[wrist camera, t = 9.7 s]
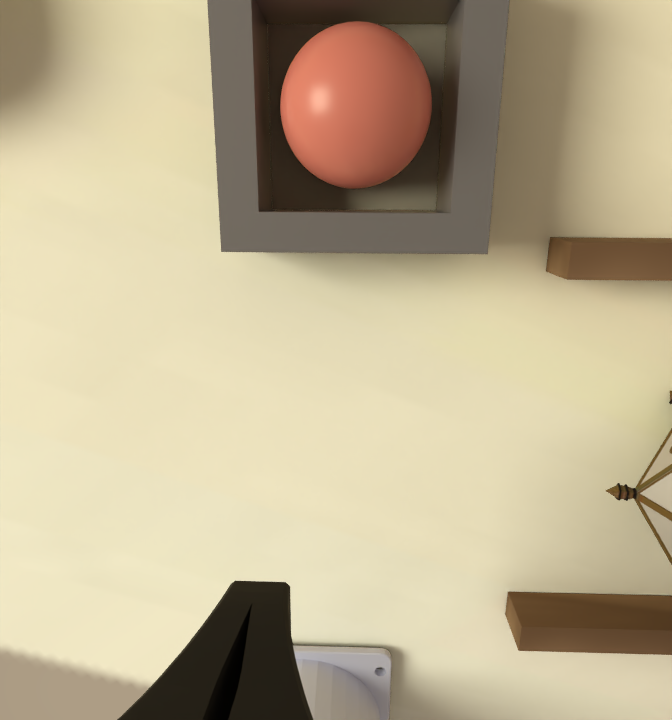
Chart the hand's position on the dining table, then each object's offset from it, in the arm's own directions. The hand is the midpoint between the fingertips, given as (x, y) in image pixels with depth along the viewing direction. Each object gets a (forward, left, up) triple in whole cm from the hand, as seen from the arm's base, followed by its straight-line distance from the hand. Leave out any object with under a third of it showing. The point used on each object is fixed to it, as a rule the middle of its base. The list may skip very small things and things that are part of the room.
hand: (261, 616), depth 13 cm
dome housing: (+12, -2, -9) cm, 15 cm away
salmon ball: (+12, -2, -9) cm, 15 cm away
